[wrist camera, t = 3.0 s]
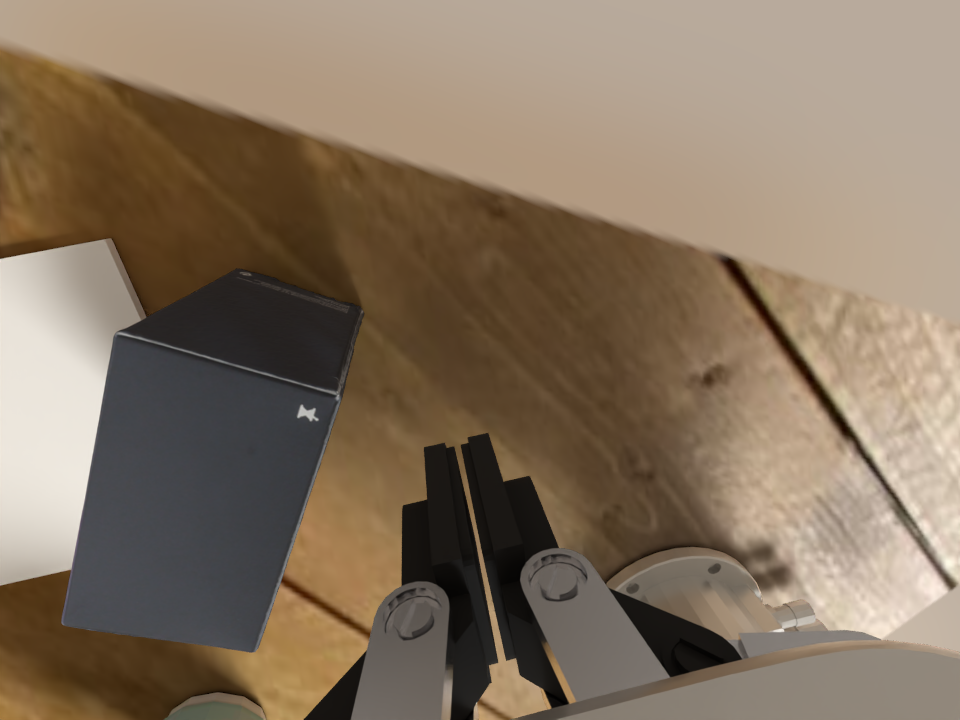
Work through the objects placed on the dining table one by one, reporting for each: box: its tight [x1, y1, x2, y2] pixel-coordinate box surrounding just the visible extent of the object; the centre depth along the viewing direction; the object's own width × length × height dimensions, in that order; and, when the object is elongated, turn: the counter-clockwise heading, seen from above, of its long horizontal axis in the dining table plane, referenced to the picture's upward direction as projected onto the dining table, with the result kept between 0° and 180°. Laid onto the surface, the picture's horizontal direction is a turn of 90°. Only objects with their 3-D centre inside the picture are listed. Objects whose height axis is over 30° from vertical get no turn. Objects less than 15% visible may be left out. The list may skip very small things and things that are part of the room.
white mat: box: [0, 238, 146, 585], centre depth 24 cm, size 16×16×1 cm
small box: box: [61, 269, 364, 653], centre depth 19 cm, size 11×6×10 cm, turn 158°
